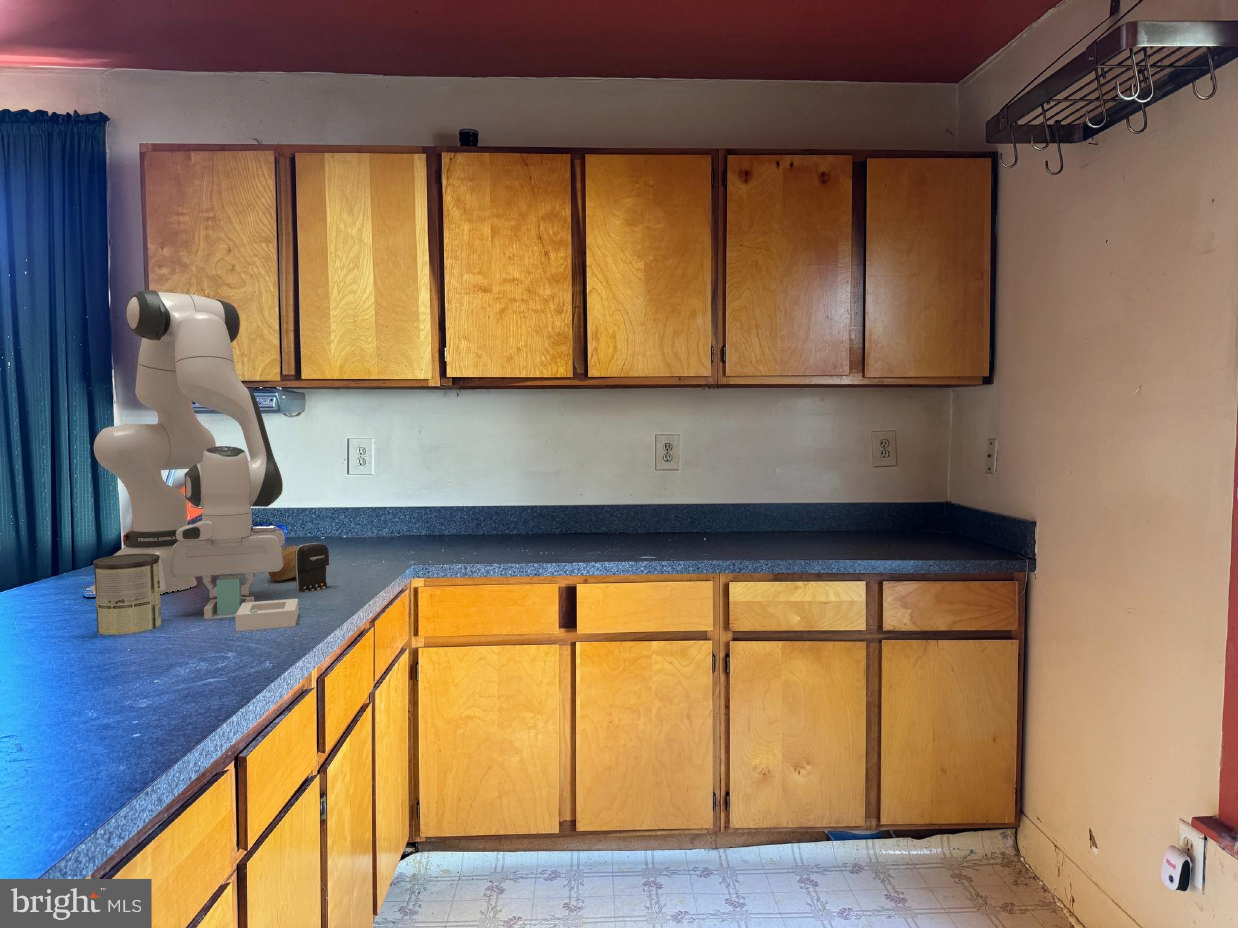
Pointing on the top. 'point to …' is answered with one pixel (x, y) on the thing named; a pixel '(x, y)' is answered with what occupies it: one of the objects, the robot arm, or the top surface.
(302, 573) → the battery
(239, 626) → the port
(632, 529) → the top surface
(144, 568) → the coffee can
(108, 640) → the top surface
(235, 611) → the plug
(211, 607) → the holster
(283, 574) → the bread roll
